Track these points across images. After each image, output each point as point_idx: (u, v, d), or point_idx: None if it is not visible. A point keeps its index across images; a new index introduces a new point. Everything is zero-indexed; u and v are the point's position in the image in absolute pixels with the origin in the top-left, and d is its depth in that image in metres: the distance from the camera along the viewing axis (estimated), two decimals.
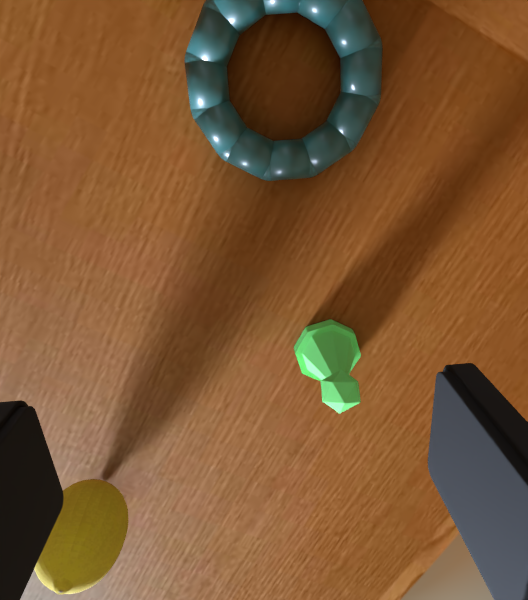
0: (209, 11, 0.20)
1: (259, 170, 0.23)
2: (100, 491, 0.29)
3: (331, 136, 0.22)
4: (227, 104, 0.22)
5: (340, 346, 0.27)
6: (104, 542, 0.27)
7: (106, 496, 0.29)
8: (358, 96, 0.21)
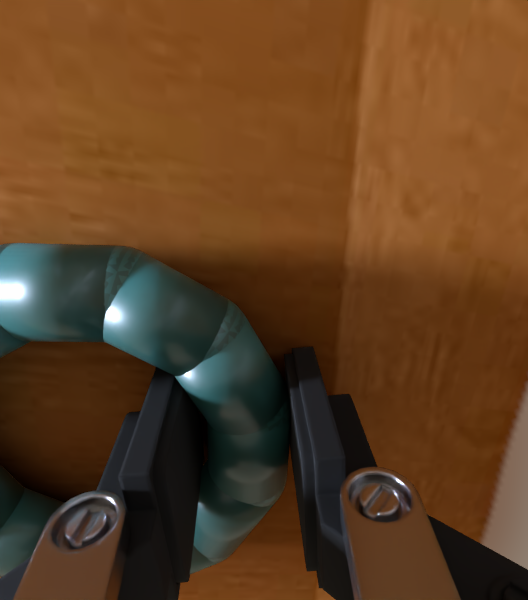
0: (97, 283, 0.08)
1: None
2: None
3: None
4: None
5: None
6: None
7: None
8: None
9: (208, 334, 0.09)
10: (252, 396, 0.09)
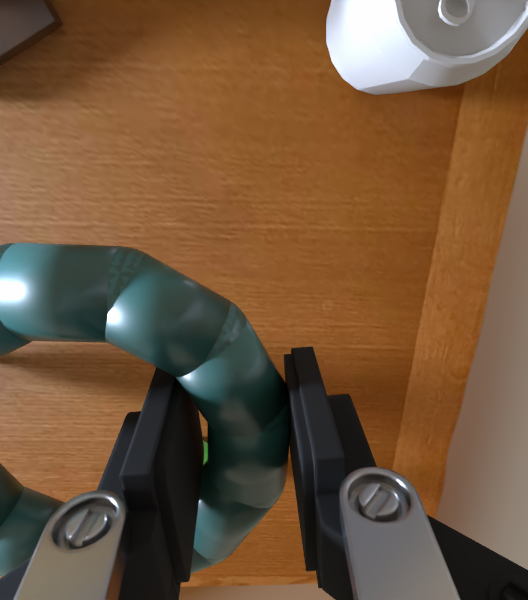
0: (100, 283, 0.08)
1: None
2: None
3: None
4: None
5: None
6: None
7: None
8: None
9: (210, 336, 0.09)
10: (253, 398, 0.09)
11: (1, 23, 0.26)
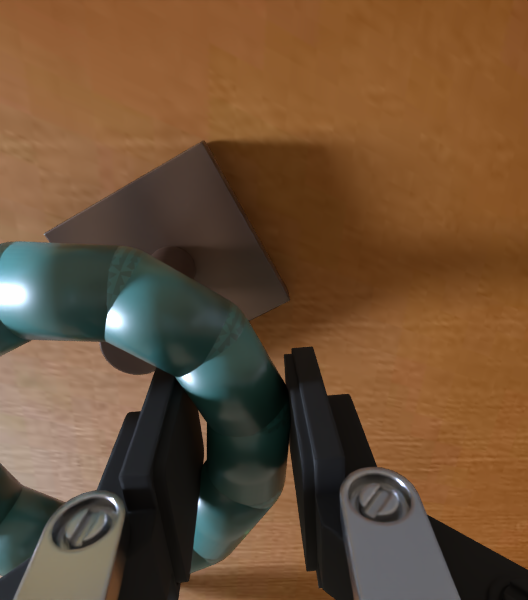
0: (100, 283, 0.08)
1: None
2: None
3: None
4: None
5: None
6: None
7: None
8: None
9: (209, 335, 0.09)
10: (252, 398, 0.09)
11: None
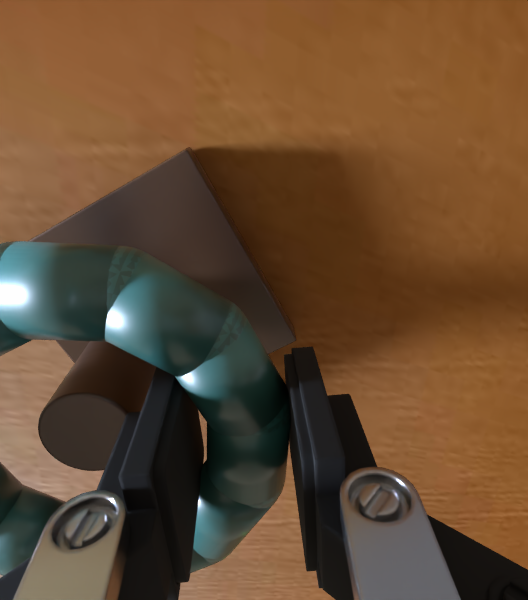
0: (100, 282, 0.08)
1: None
2: None
3: None
4: None
5: None
6: None
7: None
8: None
9: (209, 335, 0.09)
10: (252, 398, 0.09)
11: None
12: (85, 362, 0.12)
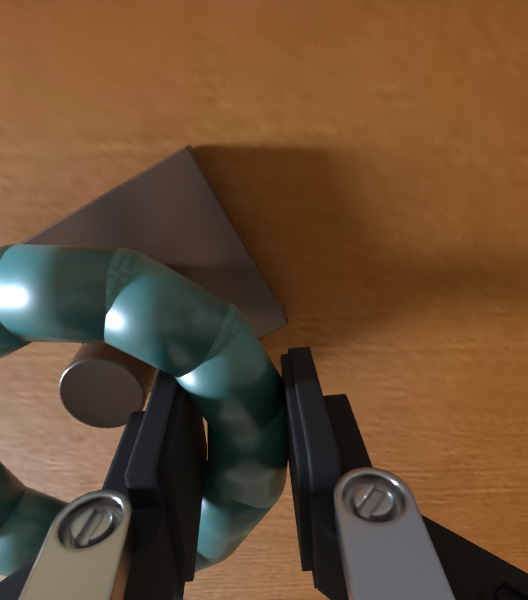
0: (99, 284, 0.08)
1: None
2: None
3: None
4: None
5: None
6: None
7: None
8: None
9: (208, 336, 0.09)
10: (252, 398, 0.09)
11: None
12: None
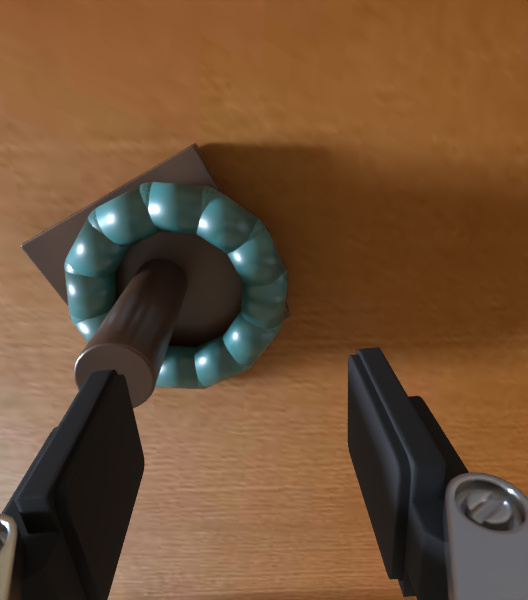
0: (198, 200, 0.17)
1: (73, 309, 0.19)
2: None
3: None
4: (123, 248, 0.18)
5: None
6: None
7: None
8: (194, 373, 0.20)
9: (248, 229, 0.18)
10: (268, 264, 0.18)
11: (225, 321, 0.21)
12: (110, 321, 0.14)
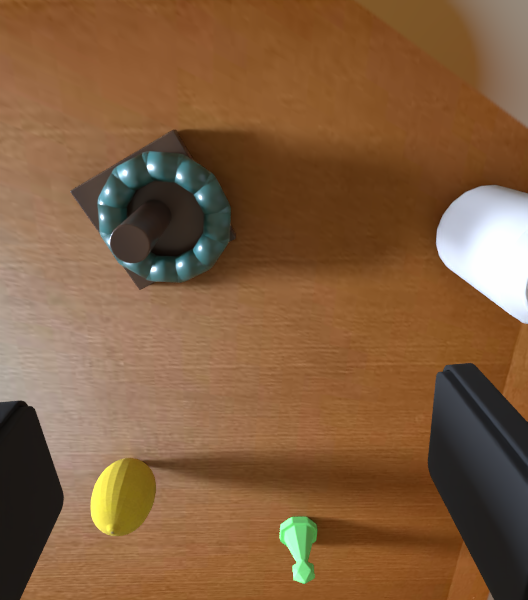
0: (175, 161, 0.30)
1: (102, 228, 0.32)
2: (155, 485, 0.41)
3: (146, 264, 0.33)
4: (132, 190, 0.31)
5: (311, 543, 0.47)
6: None
7: (155, 491, 0.41)
8: (175, 270, 0.33)
9: (205, 178, 0.30)
10: (217, 200, 0.31)
11: (195, 241, 0.34)
12: (127, 219, 0.27)
